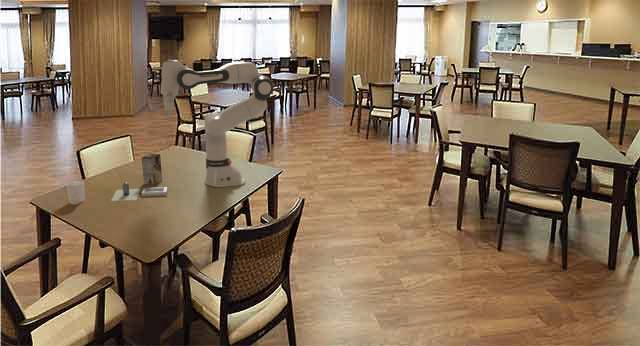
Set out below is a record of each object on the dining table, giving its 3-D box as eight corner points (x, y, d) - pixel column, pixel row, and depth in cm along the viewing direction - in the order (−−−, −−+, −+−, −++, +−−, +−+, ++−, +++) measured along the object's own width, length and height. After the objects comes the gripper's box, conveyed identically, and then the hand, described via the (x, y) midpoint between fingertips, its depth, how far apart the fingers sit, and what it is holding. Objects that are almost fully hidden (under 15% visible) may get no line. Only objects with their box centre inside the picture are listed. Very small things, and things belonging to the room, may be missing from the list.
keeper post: (129, 193, 260) (128, 181, 258) (129, 195, 257) (128, 183, 256) (123, 193, 260) (122, 181, 258) (122, 195, 257) (121, 183, 255)
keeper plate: (141, 190, 268) (140, 188, 268) (136, 201, 252) (136, 199, 251) (117, 191, 266) (116, 189, 266) (110, 202, 249) (110, 200, 249)
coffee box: (152, 180, 286) (150, 153, 281) (162, 181, 284) (160, 154, 280) (143, 185, 277) (141, 157, 273) (154, 186, 276) (152, 158, 271)
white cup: (72, 199, 252) (69, 180, 249) (88, 199, 253) (86, 180, 250) (65, 205, 244) (63, 185, 242) (82, 205, 245) (80, 185, 242)
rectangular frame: (167, 192, 267) (167, 186, 266) (166, 197, 259) (166, 191, 258) (143, 193, 264) (143, 187, 263) (142, 198, 257) (141, 192, 256)
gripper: (177, 94, 257) (175, 121, 260) (174, 89, 276) (172, 114, 279) (164, 93, 255) (162, 120, 258) (162, 88, 273) (161, 113, 277)
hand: (168, 117), depth 269 cm, fingers open, 8 cm apart
